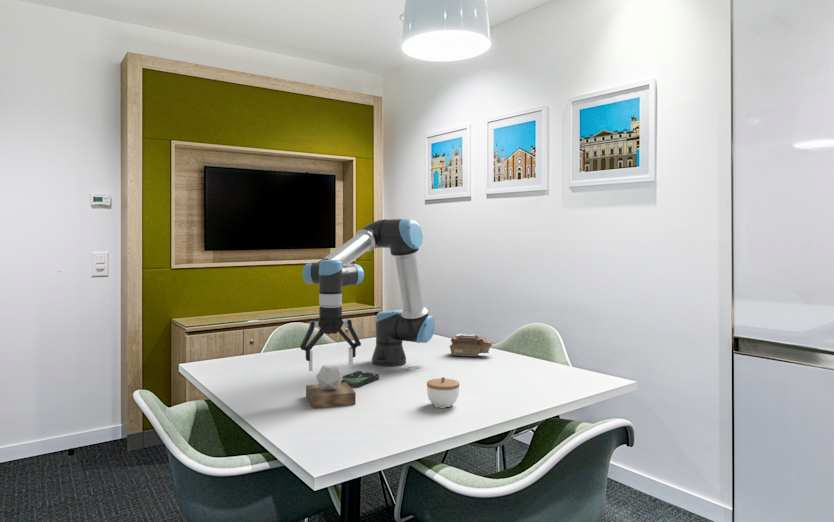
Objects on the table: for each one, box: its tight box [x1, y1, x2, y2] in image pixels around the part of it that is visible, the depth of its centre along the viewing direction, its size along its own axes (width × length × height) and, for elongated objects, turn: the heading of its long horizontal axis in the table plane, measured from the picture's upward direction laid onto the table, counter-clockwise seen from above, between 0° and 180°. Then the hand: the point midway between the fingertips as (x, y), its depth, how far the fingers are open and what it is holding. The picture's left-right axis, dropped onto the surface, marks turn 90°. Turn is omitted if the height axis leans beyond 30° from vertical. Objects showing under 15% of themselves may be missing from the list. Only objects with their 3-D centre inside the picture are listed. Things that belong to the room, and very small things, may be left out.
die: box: [316, 364, 343, 390], centre depth 189 cm, size 8×9×10 cm
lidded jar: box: [426, 376, 460, 408], centre depth 185 cm, size 11×11×9 cm
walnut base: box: [305, 382, 357, 409], centre depth 189 cm, size 14×14×4 cm
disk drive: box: [341, 370, 380, 389], centre depth 215 cm, size 10×3×15 cm
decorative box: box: [449, 333, 494, 357], centre depth 265 cm, size 13×20×10 cm, turn 69°
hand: (330, 368), depth 189 cm, fingers open, 13 cm apart
